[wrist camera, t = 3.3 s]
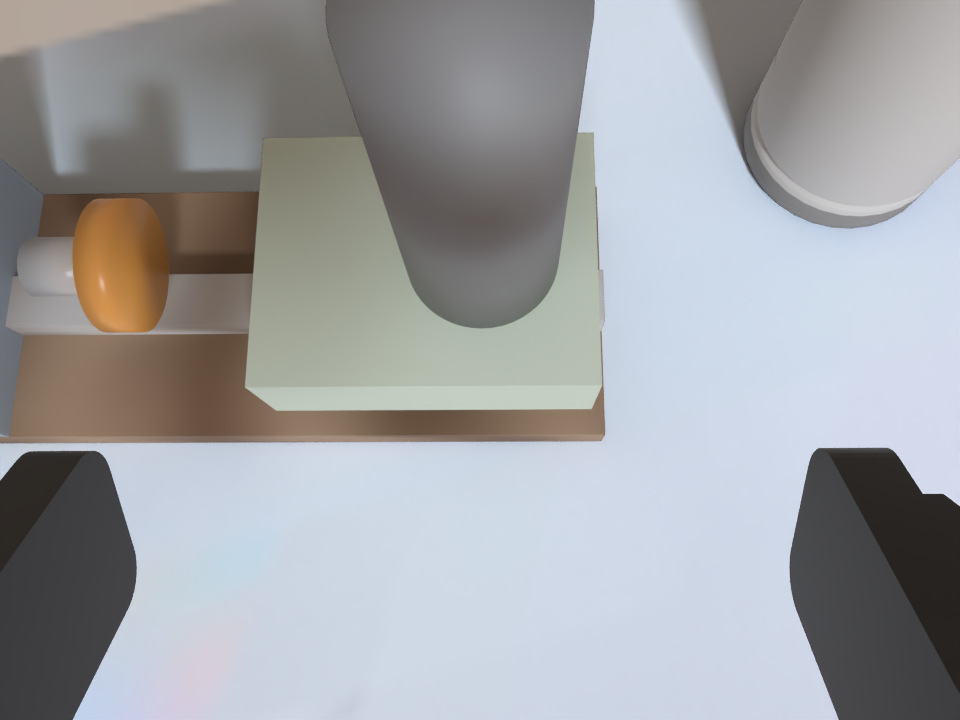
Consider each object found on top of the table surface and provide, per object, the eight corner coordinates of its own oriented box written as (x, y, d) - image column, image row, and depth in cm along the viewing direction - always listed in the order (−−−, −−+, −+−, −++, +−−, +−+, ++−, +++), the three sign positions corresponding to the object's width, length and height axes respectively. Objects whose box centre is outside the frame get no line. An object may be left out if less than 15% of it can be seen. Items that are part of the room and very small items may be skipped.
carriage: (584, 182, 26) (651, -192, 14) (591, 409, 24) (675, 220, 12) (290, 187, 26) (90, -175, 14) (276, 410, 25) (31, 228, 12)
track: (592, 203, 29) (599, 172, 27) (600, 440, 27) (608, 428, 24) (-53, 211, 29) (-97, 182, 27) (-93, 443, 27) (-144, 431, 25)
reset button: (174, 230, 25) (120, 174, 22) (162, 347, 25) (104, 308, 21) (74, 231, 26) (5, 176, 22) (59, 348, 25) (-16, 309, 21)
